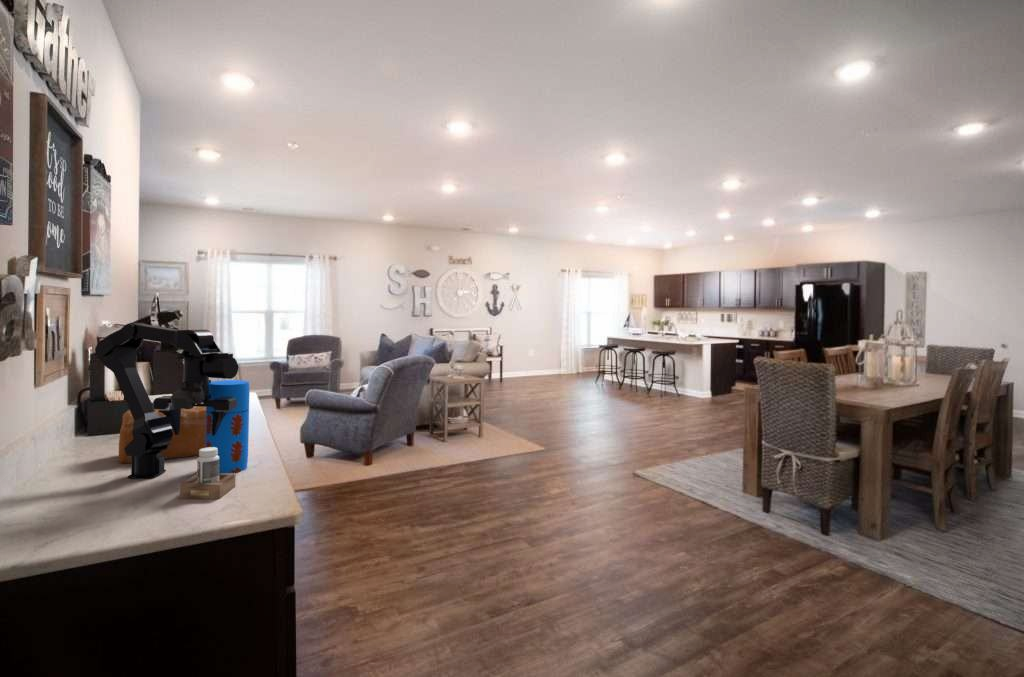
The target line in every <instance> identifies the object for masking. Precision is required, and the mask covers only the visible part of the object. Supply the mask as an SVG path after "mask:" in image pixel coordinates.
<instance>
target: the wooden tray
mask: <svg viewBox="0 0 1024 677" xmlns="http://www.w3.org/2000/svg"><path fill="white" fill-rule="evenodd" d="M236 474H237V473H219V482H217V483H197V473H196V474H194V475H193V476H192V477H189V478H187V479H186V480H185V481H183V482H182V483H180V485H179V499H180V500H218V499H219V500H220V499H221V498H223V497H224V496H225V495H226V494H228V493H229V492H231V491H232V490H233V489H235V488H236V477H237V476H236Z"/></svg>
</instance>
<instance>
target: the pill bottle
mask: <svg viewBox="0 0 1024 677" xmlns="http://www.w3.org/2000/svg"><path fill="white" fill-rule="evenodd" d="M217 454H218V448H216V447H207V448H202V449H200V450H199V455H198V456H199V457H198V458H197V460H196V462H197V466H196V467H197V469H196V471H197V472H196V474H197V483H217V482H219V456H218V455H217Z"/></svg>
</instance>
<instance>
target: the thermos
mask: <svg viewBox="0 0 1024 677" xmlns="http://www.w3.org/2000/svg"><path fill="white" fill-rule="evenodd" d="M250 392H251V390H250V381H248V380H241V379H240V380H239V379H238V380H237V379H236V380H235V379H234V380H233V379H224V380H213V381H212V380H211V383H210V384H209V395H211V398H210V399H209V400H214V399H216V398H219V397H235V398H236V400H237V407H235V408H233V409H232V410H231V411H228V412H227V413H226V415H225V416H224V418H223V420H222V422H221V424H220V426H219V428H218V430H217V432H216V435H214V436H212V422H213V416H212V413H211V412H212V411H214V410H215V409H214V408H213V407H206V441H205V448H207V447H216V448H218V454H217V455H218V456H219V473H236V474H237V473H240V472H243V471H245V470H246V468H247V469H248V462H249V461H248V459H249V432H250V427H249V426H250Z"/></svg>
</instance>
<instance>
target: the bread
mask: <svg viewBox="0 0 1024 677" xmlns="http://www.w3.org/2000/svg"><path fill="white" fill-rule="evenodd" d="M154 410H155V412H156V414H158V415H159V416H160V417H162V416H166V415H164V414H163V413H160V412H158V410H160V409H154ZM133 424H134V418H133V416H132V414H131V411H130V409H128V410H127V411H125V412H124V413H123V415H122V422H121V427H120V431H119V437H118V439H119V440H118V462H120V463H122V464H123V463H124V464H131V458H132V456H127V455H126V453H125V449H124V448H125V447H126V446H127V445H128V444H129V443H130V442H131V441H132V440H133V439H134V438H133V434H132V429H133ZM172 432H173V437H172V439H171V441H170V443H169V446H168V449H166V450H162V451H163V457H164V460H165V459H166V460H167V459H175V458H185V457H194V456H195V457H196V456H199V450H200V449H202V448H205V441H206V407H198V406H194V407H193V408H192V409H181V417H180V430H179V435H175V434H174V431H173V429H172Z"/></svg>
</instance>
